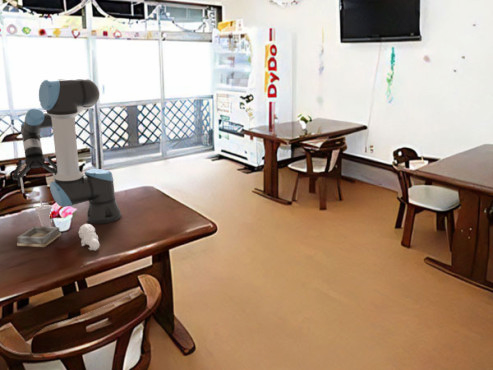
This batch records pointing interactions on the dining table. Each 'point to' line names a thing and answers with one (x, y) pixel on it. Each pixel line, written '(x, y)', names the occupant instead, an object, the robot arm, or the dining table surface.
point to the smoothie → (44, 214)
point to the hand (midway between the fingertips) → (39, 189)
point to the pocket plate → (38, 236)
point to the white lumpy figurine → (89, 236)
